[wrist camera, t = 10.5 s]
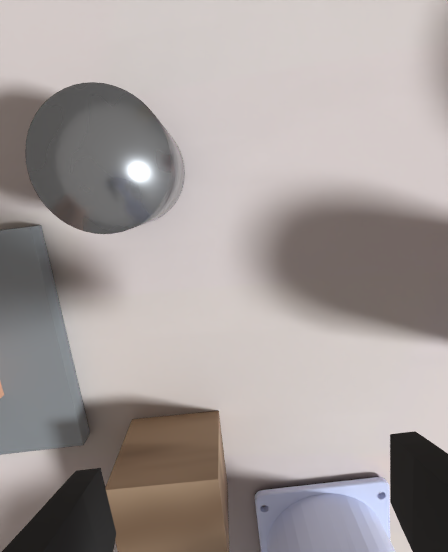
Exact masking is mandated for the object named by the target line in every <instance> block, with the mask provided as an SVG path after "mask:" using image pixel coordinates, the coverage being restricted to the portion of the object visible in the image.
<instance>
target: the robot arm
mask: <svg viewBox="0 0 448 552" xmlns="http://www.w3.org/2000/svg"><path fill="white" fill-rule="evenodd" d="M390 483H391V504H392V506H393V509H394V511H395V513H396V516H397V518H398V520H399V522H400V525H401V527H402V529H403V531H404V534H405V536H406V538H407V540H408V542H409V544H410V547H411V549H412V551H413V552H448V454H447V453H446V452H444V451H443V450H442V449H440V448H439V447H437V446H436V445H434V444H433V443H432V442H430V441H429V440H427V439H426V438H424V437H423V436H421V435H420V434H418V433H417V432H407V433H398V434H390ZM380 492H382V493H380ZM379 493H380V494H379ZM255 505H256V514H257V522H258V530H259V539H260V547H261V552H396V551H395V549H394V547H393V545H392V543H391V541H390V491H389V484H388V482H387V481H386V480H385V478H382V477H375V478H366V479H357V480H348V481H339V482H330V483H321V484H312V485H303V486H294V487H285V488H276V489H267V490H261V491H258V492H257V493H256V494H255ZM263 505H266V506H264V507H262V506H263ZM115 538H116V530H115V526H114V522H113V517H112V513H111V509H110V505H109V501H108V497H107V493H106V489H105V485H104V481H103V477H102V472H101V468H97V469H89V470H80V471H76V472H75V473H74V474H73V475H72V476H71V477H70V478H69V479H68V480H67V481H66V482H65V483H64V484H63V486H62V487H61V488H60V489H59V490H58V491H57V492H56V493H55V494H54V495H53V497H52V498H51V499H50V500H49V501H48V502H47V503H46V504H45V505H44V507H43V508H42V509H41V510H40V511H39V512H38V513H37V514H36V515H35V516H34V518H33V519H32V520H31V521H30V522H29V523H28V524H27V525H26V526H25V527H24V528H23V529H22V531H21V532H20V533H19V534H18V535H17V536H16V537H15V538H14V539H13V540H12V541H11V542H10V544H9V545H8V546H7V547H6V548H5V549H4V550H3V551H2V552H113V549H114V544H115Z"/></svg>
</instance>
